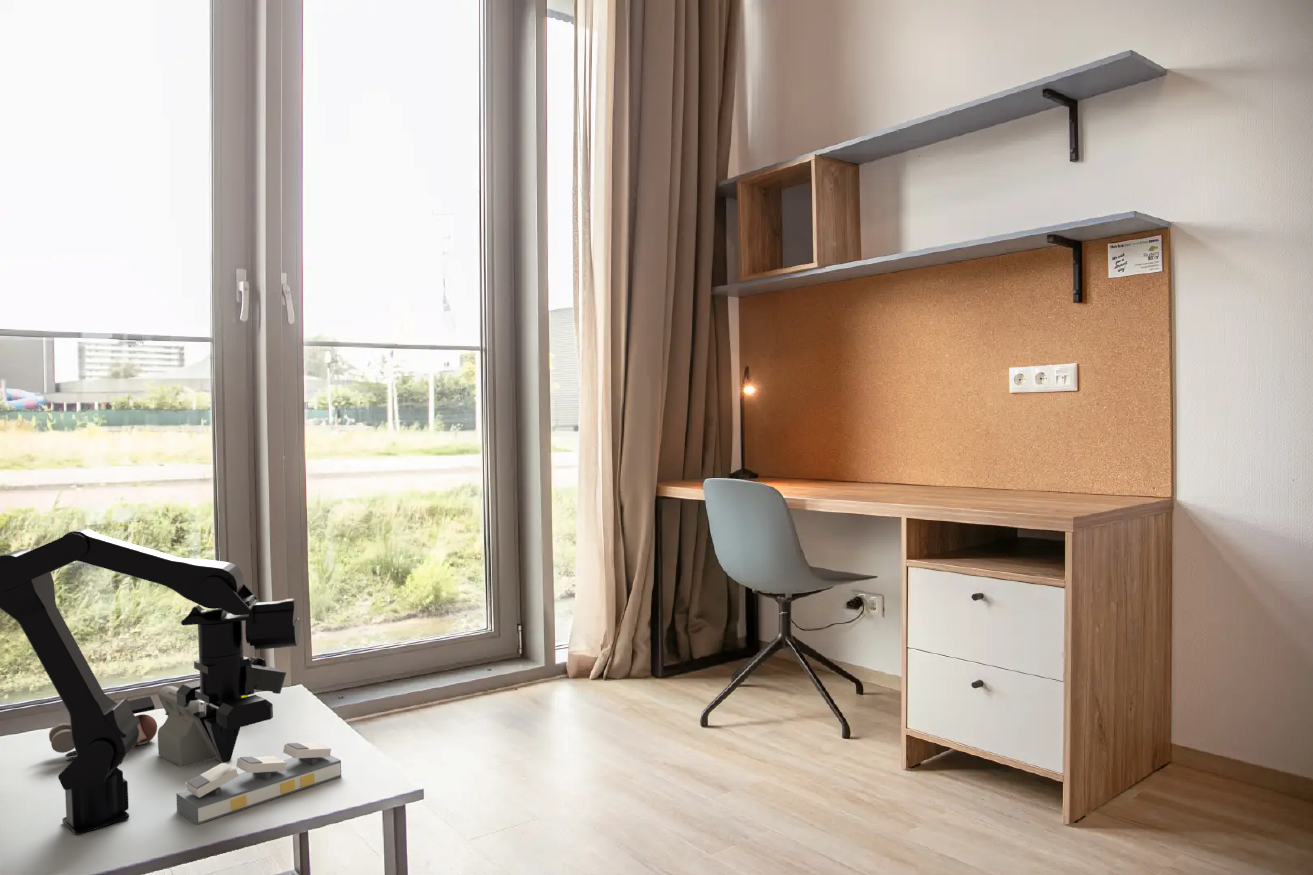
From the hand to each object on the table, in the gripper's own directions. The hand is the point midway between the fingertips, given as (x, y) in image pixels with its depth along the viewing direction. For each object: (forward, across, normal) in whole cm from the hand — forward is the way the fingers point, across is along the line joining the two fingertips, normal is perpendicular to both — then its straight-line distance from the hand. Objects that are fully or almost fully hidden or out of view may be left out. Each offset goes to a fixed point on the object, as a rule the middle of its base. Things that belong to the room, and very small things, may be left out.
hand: (225, 761), depth 128 cm
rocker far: (+2, 0, -12) cm, 12 cm away
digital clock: (+6, +25, -5) cm, 26 cm away
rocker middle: (+2, 0, -5) cm, 5 cm away
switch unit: (+6, 0, -5) cm, 8 cm away
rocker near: (+2, 0, +2) cm, 3 cm away
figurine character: (+6, +39, +4) cm, 40 cm away
